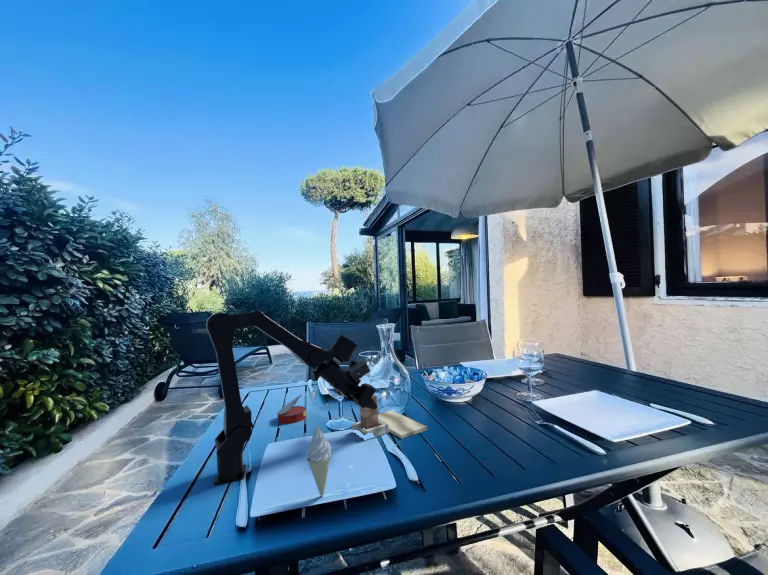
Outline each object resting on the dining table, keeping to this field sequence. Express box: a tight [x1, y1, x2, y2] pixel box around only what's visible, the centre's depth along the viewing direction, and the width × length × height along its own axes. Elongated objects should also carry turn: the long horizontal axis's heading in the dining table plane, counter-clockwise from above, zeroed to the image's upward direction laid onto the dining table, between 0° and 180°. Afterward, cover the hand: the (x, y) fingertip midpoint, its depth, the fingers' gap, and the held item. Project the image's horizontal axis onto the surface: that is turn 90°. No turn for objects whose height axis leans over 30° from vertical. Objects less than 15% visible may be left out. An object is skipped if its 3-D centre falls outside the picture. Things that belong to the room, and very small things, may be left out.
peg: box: [359, 394, 379, 430], centre depth 100 cm, size 4×4×11 cm
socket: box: [351, 409, 428, 440], centre depth 102 cm, size 18×20×2 cm
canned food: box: [276, 394, 307, 425], centre depth 117 cm, size 11×10×10 cm
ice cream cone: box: [306, 423, 332, 497], centre depth 69 cm, size 5×5×15 cm
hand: (372, 405), depth 100 cm, fingers open, 5 cm apart
